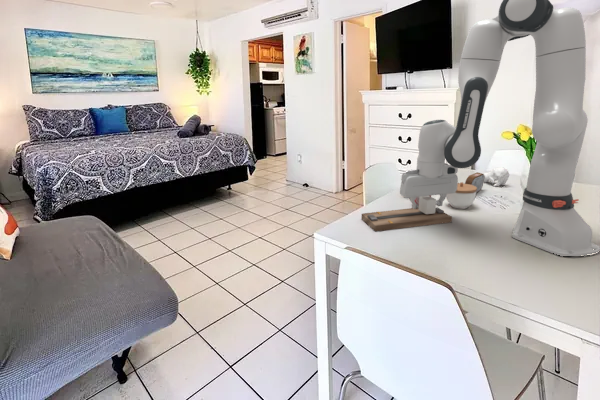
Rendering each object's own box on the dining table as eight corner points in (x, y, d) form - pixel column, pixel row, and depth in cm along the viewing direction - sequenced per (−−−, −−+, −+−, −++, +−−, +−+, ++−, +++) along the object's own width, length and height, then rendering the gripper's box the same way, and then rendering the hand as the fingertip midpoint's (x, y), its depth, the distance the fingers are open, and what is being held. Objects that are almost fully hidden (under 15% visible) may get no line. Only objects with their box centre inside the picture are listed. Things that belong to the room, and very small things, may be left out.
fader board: (451, 222, 124) (452, 214, 123) (375, 231, 118) (375, 223, 118) (431, 211, 135) (432, 203, 134) (361, 218, 130) (361, 211, 129)
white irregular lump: (501, 168, 158) (478, 166, 169) (500, 188, 160) (477, 184, 171) (511, 167, 160) (488, 164, 171) (510, 186, 162) (487, 182, 173)
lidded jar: (466, 212, 132) (469, 188, 130) (439, 206, 140) (441, 182, 137) (479, 205, 139) (482, 182, 136) (452, 200, 147) (454, 177, 144)
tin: (476, 188, 161) (479, 170, 158) (484, 190, 159) (486, 171, 156) (461, 196, 151) (464, 176, 149) (469, 197, 149) (471, 178, 146)
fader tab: (435, 213, 126) (436, 199, 124) (426, 214, 125) (427, 200, 123) (427, 208, 130) (428, 195, 129) (418, 209, 130) (419, 196, 128)
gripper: (406, 173, 118) (404, 213, 122) (462, 168, 122) (458, 207, 126) (397, 169, 124) (395, 207, 128) (450, 164, 128) (447, 201, 132)
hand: (427, 207), depth 127 cm, fingers open, 8 cm apart
